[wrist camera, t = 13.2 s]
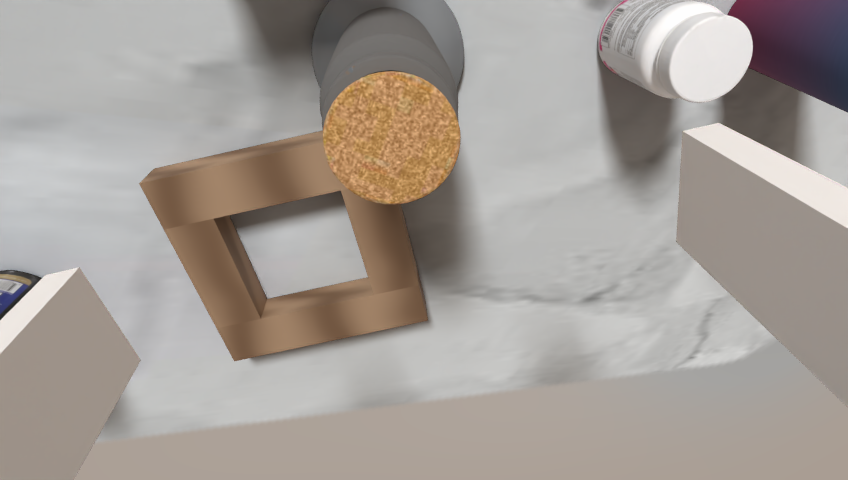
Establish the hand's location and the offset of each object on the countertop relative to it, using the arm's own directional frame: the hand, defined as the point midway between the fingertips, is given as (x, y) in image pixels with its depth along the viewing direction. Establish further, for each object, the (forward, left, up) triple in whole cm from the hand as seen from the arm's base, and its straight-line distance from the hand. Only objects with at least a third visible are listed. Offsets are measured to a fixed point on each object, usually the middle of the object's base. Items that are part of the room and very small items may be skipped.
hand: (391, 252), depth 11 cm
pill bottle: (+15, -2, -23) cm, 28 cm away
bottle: (0, 0, -22) cm, 22 cm away
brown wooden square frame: (-9, -11, -23) cm, 27 cm away
